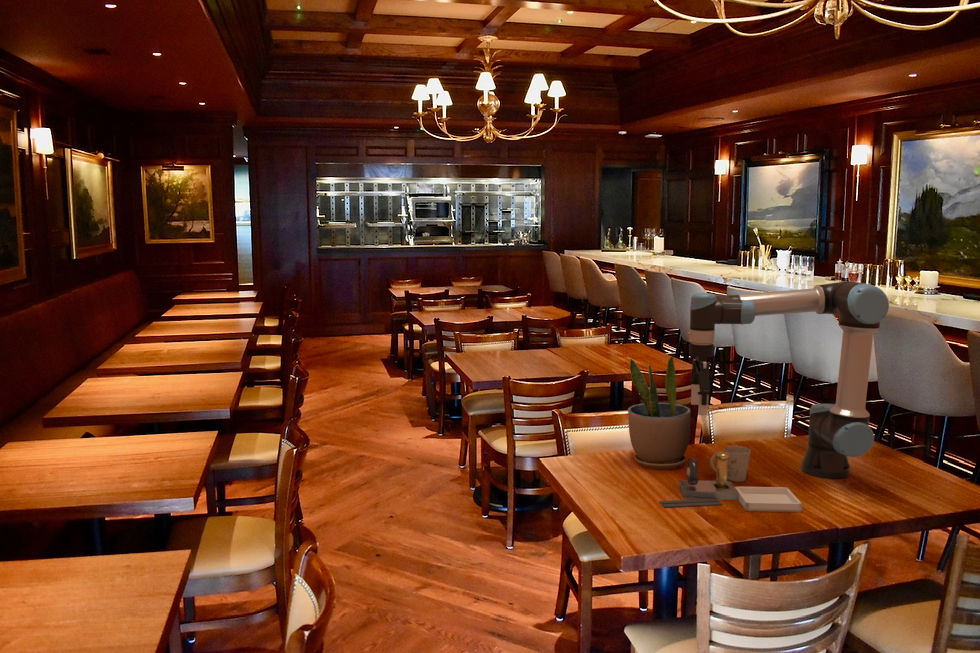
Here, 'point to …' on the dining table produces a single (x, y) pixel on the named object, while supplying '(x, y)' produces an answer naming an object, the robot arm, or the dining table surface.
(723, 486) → the pin
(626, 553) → the dining table surface
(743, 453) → the mug
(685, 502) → the pair of grey strips
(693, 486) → the block
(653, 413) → the potted plant
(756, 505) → the tray
